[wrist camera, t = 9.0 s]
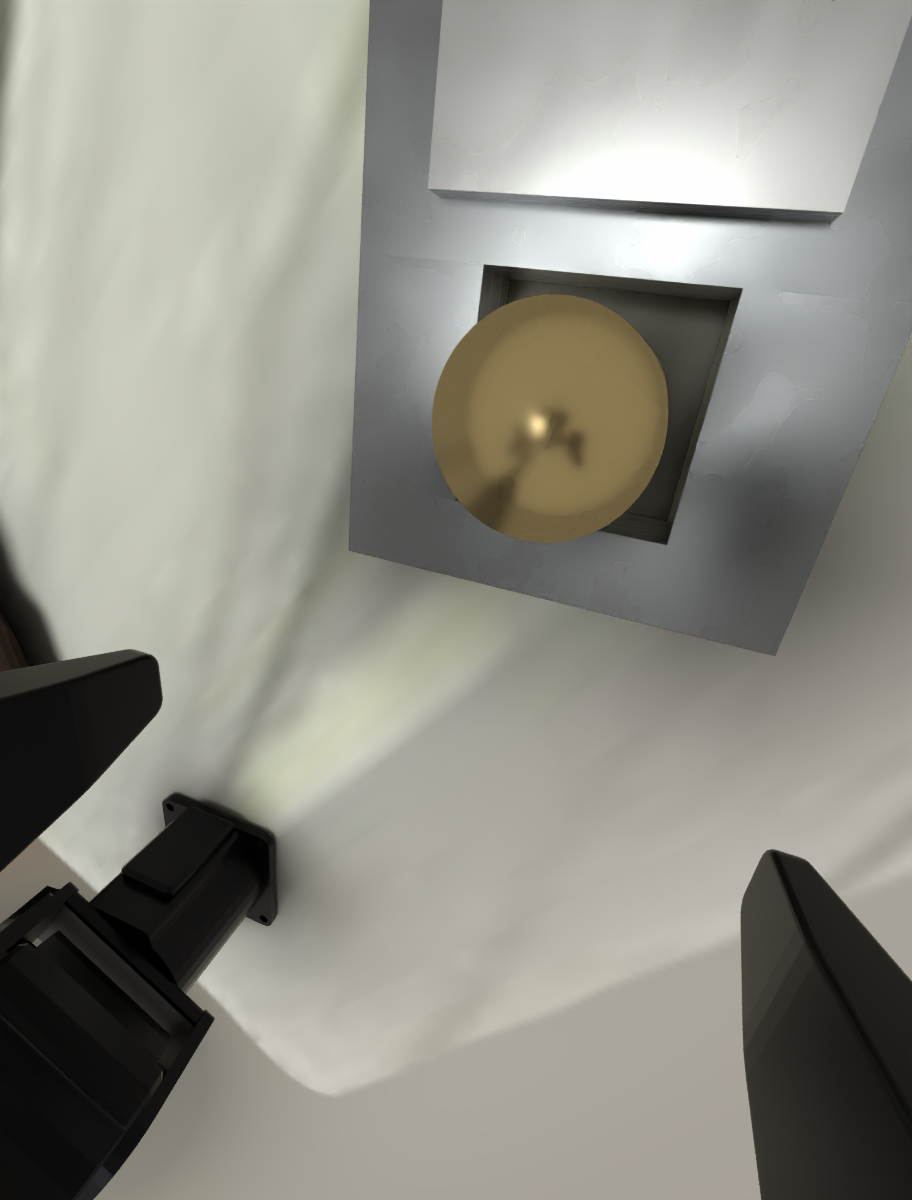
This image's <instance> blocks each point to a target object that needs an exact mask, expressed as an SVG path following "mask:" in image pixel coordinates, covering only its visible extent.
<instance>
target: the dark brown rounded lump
mask: <svg viewBox="0 0 912 1200" xmlns="http://www.w3.org/2000/svg"><path fill="white" fill-rule="evenodd" d="M26 667H30V666H29V664H28V662H27V660H26V658H25V656H24V654H23V652H22V649H21V647H20V645H19V643H18V641H17V639H16V637H15V635H14V633H13V632H12V630H11V628H10V626H9V625H8V623H7V621H6V620H5V618H4V617H3V616H2V615H1V613H0V672H3V671H9V670H14V669H20V668H26Z"/></svg>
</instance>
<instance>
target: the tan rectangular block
mask: <svg viewBox="0 0 912 1200" xmlns="http://www.w3.org/2000/svg"><path fill="white" fill-rule="evenodd" d="M667 426H668V390H667V382H666V377H665V373H664V370H663V368H662V365H661V363H660V361H659V359H658V358H657V356H656V354H655V353H654V352H653V350H652V349H651V348H650V346H649V345H648V344H647V343H646V341H645V340H644V339H643V338H642V336H641V335H640V334H639V333H638V332H637V331H636V330H635V329H634V328H633V327H632V326H631V325H630V324H629V323H628V322H627V321H626V320H625V319H623V318H622V317H621V316H619V315H618V314H617V313H615V312H614V311H612V310H610V309H608V308H607V307H605V306H603V305H601V304H599V303H596V302H594V301H591V300H588V299H585V298H582V297H576V296H571V295H564V294H545V295H537V296H531V297H527V298H523V299H520V300H516V301H514V302H511V303H509V304H507V305H504V306H502V307H500V308H498V309H497V310H495V311H493V312H492V313H490V314H489V315H487V316H486V317H484V318H483V319H482V320H481V321H479V322H478V323H477V324H476V325H474V326H473V327H472V328H471V329H470V330H469V331H468V333H467V334H466V335H465V336H464V337H463V338H462V339H461V340H460V342H459V343H458V345H457V346H456V347H455V349H454V350H453V351H452V353H451V355H450V357H449V359H448V360H447V362H446V364H445V366H444V368H443V371H442V373H441V376H440V378H439V381H438V384H437V388H436V392H435V395H434V402H433V408H432V436H433V444H434V449H435V454H436V457H437V460H438V464H439V467H440V469H441V472H442V474H443V476H444V478H445V480H446V482H447V484H448V486H449V487H450V489H451V491H452V492H453V494H454V495H455V496H456V498H457V499H458V500H459V502H460V503H461V504H462V505H463V506H464V507H465V508H466V509H467V510H468V511H469V512H470V513H471V514H472V515H473V516H474V517H475V518H477V519H478V520H479V521H481V522H482V523H483V524H485V525H487V526H488V527H490V528H492V529H493V530H495V531H497V532H499V533H502V534H504V535H506V536H509V537H512V538H516V539H519V540H524V541H530V542H539V543H553V542H563V541H568V540H572V539H577V538H580V537H583V536H586V535H588V534H591V533H593V532H595V531H597V530H599V529H601V528H603V527H605V526H607V525H608V524H610V523H611V522H612V521H614V520H615V519H617V518H618V517H620V516H621V515H622V514H623V513H624V512H625V511H626V510H627V509H628V508H630V507H631V506H632V504H633V503H634V502H635V501H636V500H637V499H638V497H639V496H640V495H641V494H642V493H643V491H644V489H645V488H646V486H647V485H648V483H649V482H650V480H651V478H652V476H653V474H654V472H655V470H656V468H657V466H658V464H659V461H660V458H661V455H662V452H663V449H664V445H665V440H666V435H667Z"/></svg>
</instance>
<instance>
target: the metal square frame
mask: <svg viewBox="0 0 912 1200" xmlns="http://www.w3.org/2000/svg"><path fill="white" fill-rule="evenodd" d="M511 279H512V280H522V281H532V282H542V283H553V284H563V285H573V286H583V287H593V288H603V289H613V290H624V291H634V292H644V293H654V294H664V295H674V296H684V297H695V298H705V299H715V300H725V301H731V303H730V306H729V309H728V313H727V316H726V320H725V323H724V327H723V330H722V333H721V337H720V340H719V344H718V347H717V351H716V354H715V358H714V361H713V364H712V368H711V371H710V375H709V378H708V382H707V385H706V388H705V392H704V395H703V399H702V402H701V406H700V409H699V413H698V416H697V419H696V423H695V426H694V430H693V433H692V437H691V440H690V444H689V447H688V450H687V454H686V457H685V461H684V464H683V468H682V471H681V474H680V478H679V481H678V485H677V488H676V492H675V495H674V499H673V502H672V505H671V509H670V512H669V516H668V519H667V521H664V520H659V519H654V518H649V517H644V516H639V515H634V514H629V513H623V514H622V515H621V516H620V517H618V518H617V519H615V520H614V521H612V522H611V523H610V524H608V525H607V526H605V527H603V528H601V529H599V530H597V531H595V532H593V533H591V534H588V535H586V536H583V537H580V538H577V539H572V540H568V541H563V542H553V543H539V542H530V541H524V540H519V539H516V538H512V537H509V536H506V535H504V534H502V533H499V532H497V531H495V530H493V529H492V528H490V527H488V526H487V525H485V524H483V523H482V522H481V521H479V520H478V519H477V518H475V517H474V516H473V515H472V514H471V513H470V512H469V511H468V510H467V509H466V508H465V507H464V506H463V505H462V504H461V503H460V502H459V500H458V499H457V498H456V496H455V495H454V494H453V492H452V491H451V489H450V487H449V486H448V484H447V482H446V480H445V478H444V476H443V474H442V472H441V469H440V467H439V464H438V460H437V457H436V454H435V449H434V444H433V436H432V408H433V402H434V395H435V392H436V388H437V384H438V381H439V378H440V376H441V373H442V371H443V368H444V366H445V364H446V362H447V360H448V359H449V357H450V355H451V353H452V351H453V350H454V349H455V347H456V346H457V345H458V343H459V342H460V340H461V339H462V338H463V337H464V336H465V335H466V334H467V333H468V331H469V330H470V329H471V328H472V327H473V326H474V325H476V324H477V323H478V322H479V321H481V320H482V319H483V318H484V317H486V316H487V315H489V314H490V313H492V312H493V311H495V310H497V309H498V308H500V307H502V306H504V305H507V301H508V294H509V287H510V280H511ZM911 332H912V0H370V13H369V39H368V64H367V90H366V116H365V142H364V167H363V193H362V219H361V245H360V271H359V296H358V322H357V348H356V374H355V399H354V425H353V451H352V477H351V502H350V528H349V551H353V552H357V553H361V554H365V555H369V556H373V557H377V558H381V559H385V560H389V561H393V562H397V563H401V564H405V565H409V566H413V567H417V568H422V569H426V570H430V571H434V572H438V573H442V574H446V575H450V576H454V577H458V578H462V579H466V580H470V581H474V582H478V583H482V584H486V585H490V586H494V587H498V588H502V589H506V590H510V591H514V592H518V593H522V594H526V595H530V596H534V597H538V598H543V599H547V600H551V601H555V602H559V603H563V604H567V605H571V606H575V607H579V608H583V609H587V610H591V611H595V612H599V613H603V614H607V615H611V616H615V617H619V618H623V619H627V620H631V621H635V622H639V623H643V624H647V625H651V626H655V627H659V628H664V629H668V630H672V631H676V632H680V633H684V634H688V635H692V636H696V637H700V638H704V639H708V640H712V641H716V642H720V643H724V644H728V645H732V646H736V647H740V648H744V649H748V650H752V651H756V652H760V653H764V654H768V655H772V656H775V655H776V652H777V650H778V647H779V645H780V643H781V640H782V638H783V636H784V633H785V631H786V629H787V626H788V624H789V621H790V619H791V617H792V614H793V612H794V610H795V607H796V605H797V602H798V600H799V598H800V595H801V593H802V591H803V588H804V586H805V583H806V581H807V579H808V576H809V574H810V572H811V569H812V567H813V564H814V562H815V560H816V557H817V555H818V553H819V550H820V548H821V546H822V543H823V541H824V538H825V536H826V534H827V531H828V529H829V527H830V524H831V522H832V519H833V517H834V515H835V512H836V510H837V508H838V505H839V503H840V500H841V498H842V496H843V493H844V491H845V489H846V486H847V484H848V481H849V479H850V477H851V474H852V472H853V470H854V467H855V465H856V463H857V460H858V458H859V455H860V453H861V451H862V448H863V446H864V444H865V441H866V439H867V436H868V434H869V432H870V429H871V427H872V425H873V422H874V420H875V417H876V415H877V413H878V410H879V408H880V406H881V403H882V401H883V398H884V396H885V394H886V391H887V389H888V387H889V384H890V382H891V380H892V377H893V375H894V372H895V370H896V368H897V365H898V363H899V361H900V358H901V356H902V353H903V351H904V349H905V346H906V344H907V342H908V339H909V337H910V334H911Z"/></svg>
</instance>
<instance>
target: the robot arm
mask: <svg viewBox="0 0 912 1200" xmlns="http://www.w3.org/2000/svg"><path fill="white" fill-rule="evenodd" d="M162 701H163V696H162V688H161V680H160V672H159V665H158V661H157V660H156V658H155V657H154V656H152V655H150V654H147V653H144V652H141V651H137V650H133V649H127V650H121V651H116V652H110V653H104V654H99V655H93V656H87V657H82V658H76V659H71V660H65V661H59V662H54V663H48V664H42V665H37V666H31V667H26V668H20V669H14V670H9V671H3V672H0V872H1V871H2V870H3V869H4V868H5V867H6V866H7V865H8V864H10V863H11V862H12V861H13V860H14V859H15V858H16V857H17V856H18V855H19V854H20V853H21V852H22V851H24V850H25V849H26V848H27V847H28V846H29V845H30V844H31V843H32V842H33V841H34V840H35V839H36V838H37V837H39V836H40V835H41V834H42V833H43V832H44V831H45V830H46V829H47V828H48V827H49V826H50V825H51V824H52V823H53V822H55V821H56V820H57V819H58V818H59V817H60V816H61V815H62V814H63V813H64V812H65V811H66V810H67V809H68V808H70V807H71V806H72V805H73V804H74V803H75V802H76V801H77V800H78V799H79V798H80V797H81V796H82V795H83V794H84V793H85V792H86V791H87V790H88V789H89V788H90V787H91V786H92V785H93V784H94V783H95V782H96V781H97V780H98V779H99V778H100V777H101V775H102V774H103V773H104V772H105V771H106V770H107V769H108V768H109V767H110V766H111V764H112V763H113V762H114V761H115V760H116V759H117V758H118V757H119V756H120V754H121V753H122V752H123V751H124V750H125V749H126V748H127V747H128V746H129V745H130V743H131V742H132V741H133V740H134V739H135V738H136V737H137V736H138V735H139V734H140V732H141V731H142V730H143V729H144V728H145V727H146V726H147V725H148V724H149V723H150V721H151V720H152V719H153V718H154V717H155V716H156V715H157V713H158V712H159V710H160V708H161V705H162ZM162 805H163V812H164V819H165V826H166V828H165V829H164V830H162V831H161V832H160V833H159V834H158V835H157V836H156V837H155V838H154V839H153V840H152V841H150V842H149V843H148V844H147V845H146V846H145V847H144V848H143V849H142V850H141V851H140V852H138V853H137V854H136V855H135V856H134V857H133V858H132V859H131V860H130V861H129V862H128V863H126V864H125V865H124V866H123V868H122V871H121V873H120V874H119V875H118V876H116V877H115V878H114V879H113V880H112V881H111V882H110V883H109V884H108V885H107V886H106V887H105V888H103V889H102V890H101V891H100V892H99V893H98V894H97V895H96V896H95V897H94V898H93V899H92V900H91V901H90V902H88V901H87V900H85V898H83V897H82V896H81V895H80V894H79V893H78V891H79V889H78V888H77V887H76V886H75V885H74V884H73V883H71V882H69V883H68V884H66V885H65V886H64V887H63V888H61V889H55V888H52V887H49V886H46V887H45V888H44V889H43V890H42V891H40V892H39V893H38V894H37V895H36V896H34V897H33V898H32V899H31V900H30V901H28V902H27V903H26V904H25V905H24V906H22V907H21V908H20V909H19V910H18V911H16V912H15V913H14V914H12V915H11V916H10V917H9V918H7V919H6V920H5V921H3V922H2V923H1V924H0V1200H93V1199H94V1198H95V1197H96V1196H97V1195H98V1194H99V1192H101V1191H102V1189H103V1188H104V1187H105V1186H106V1185H107V1183H108V1182H109V1181H110V1180H111V1179H112V1178H113V1176H114V1175H115V1174H116V1172H117V1171H118V1170H119V1169H120V1167H121V1166H122V1165H123V1164H124V1162H125V1161H126V1159H127V1158H128V1157H129V1156H130V1154H131V1153H132V1151H133V1150H134V1149H135V1147H136V1146H137V1145H138V1143H139V1142H140V1140H141V1139H142V1137H143V1136H144V1134H145V1133H146V1131H147V1130H148V1128H149V1127H150V1125H151V1123H152V1122H153V1120H154V1119H155V1117H156V1115H157V1114H158V1112H159V1110H160V1109H161V1107H162V1106H163V1104H164V1102H165V1100H166V1099H167V1097H168V1095H169V1094H170V1092H171V1091H172V1089H173V1087H174V1086H175V1084H176V1082H177V1080H178V1079H179V1077H180V1076H181V1074H182V1072H183V1071H184V1069H185V1067H186V1066H187V1064H188V1062H189V1061H190V1059H191V1057H192V1056H193V1054H194V1052H195V1051H196V1049H197V1047H198V1046H199V1044H200V1043H201V1041H202V1039H203V1038H204V1036H205V1034H206V1033H207V1031H208V1029H209V1028H210V1026H211V1024H212V1023H213V1021H214V1019H215V1018H214V1017H213V1016H212V1015H211V1014H210V1013H209V1012H208V1011H207V1010H204V1011H203V1010H202V1009H201V1008H200V1007H199V1006H198V1005H197V1004H196V1003H195V1002H193V1001H192V1000H191V999H190V998H189V997H188V996H187V995H186V994H187V992H188V991H189V989H190V988H191V987H192V986H193V984H194V983H195V982H196V981H197V979H198V978H199V977H200V975H201V974H202V973H203V971H204V970H205V969H206V968H207V966H208V965H209V964H210V962H211V961H212V960H213V958H214V957H215V956H216V954H217V953H218V952H219V951H220V949H221V948H222V947H223V945H224V944H225V943H226V941H227V940H228V939H229V938H230V936H231V935H232V934H233V932H234V931H235V930H236V928H237V927H238V926H239V925H240V923H241V922H242V921H243V919H244V918H245V917H248V918H250V919H252V920H254V921H256V922H258V923H261V924H263V925H265V926H270V925H271V924H272V923H273V921H274V920H275V918H276V893H275V858H274V841H273V838H272V837H271V836H270V835H269V834H268V833H266V832H264V831H262V830H259V829H257V828H254V827H252V826H249V825H247V824H245V823H242V822H240V821H237V820H235V819H232V818H230V817H228V816H225V815H223V814H220V813H218V812H215V811H213V810H211V809H208V808H206V807H203V806H201V805H198V804H196V803H194V802H191V801H189V800H186V799H184V798H182V797H179V796H177V795H173V794H171V795H169V796H168V797H167V798H166V799H164V801H163V803H162ZM37 938H39V939H40V940H41V941H42V943H41V944H40V945H39V946H38V947H36V946H35V945H34V944H32V943H33V942H34V941H35V940H36V939H37ZM741 965H742V967H741V968H742V1021H743V1022H742V1024H743V1052H744V1062H745V1072H746V1082H747V1090H748V1098H749V1106H750V1113H751V1121H752V1130H753V1138H754V1145H755V1154H756V1161H757V1169H758V1178H759V1185H760V1193H761V1200H912V981H911V980H910V978H909V977H908V976H907V975H906V974H905V973H904V972H903V970H902V969H901V968H900V967H899V966H898V965H897V963H895V961H894V960H893V959H892V958H891V956H890V955H889V954H888V953H887V952H886V951H885V950H884V948H883V947H882V946H881V945H880V944H879V943H878V942H877V940H876V939H875V938H874V937H873V936H872V934H871V933H870V932H869V931H868V930H867V929H866V928H865V927H864V925H863V924H862V923H861V922H860V921H859V919H858V918H857V917H856V916H855V915H854V914H853V912H852V911H851V910H850V909H849V908H848V907H847V905H846V904H845V903H844V902H843V901H842V900H841V899H840V897H839V896H838V895H837V894H836V893H835V892H834V890H833V889H832V888H831V887H830V886H829V885H828V883H827V882H826V881H825V880H824V879H823V878H822V876H821V875H820V874H819V873H818V872H817V871H816V870H815V868H814V867H813V866H812V865H811V864H810V863H809V862H808V861H806V860H805V859H803V858H800V857H797V856H794V855H790V854H787V853H784V852H781V851H778V850H774V849H771V850H767V851H766V852H765V853H764V854H763V855H762V857H761V859H760V861H759V863H758V866H757V868H756V870H755V872H754V874H753V876H752V879H751V881H750V883H749V885H748V887H747V889H746V892H745V894H744V897H743V900H742V905H741Z"/></svg>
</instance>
